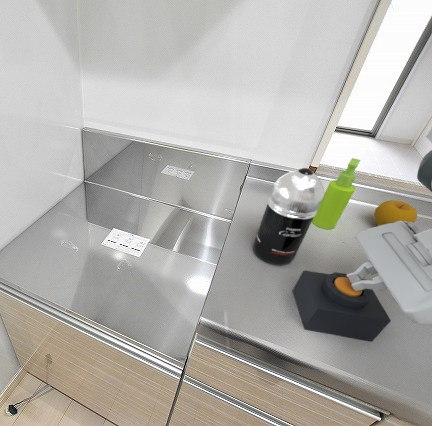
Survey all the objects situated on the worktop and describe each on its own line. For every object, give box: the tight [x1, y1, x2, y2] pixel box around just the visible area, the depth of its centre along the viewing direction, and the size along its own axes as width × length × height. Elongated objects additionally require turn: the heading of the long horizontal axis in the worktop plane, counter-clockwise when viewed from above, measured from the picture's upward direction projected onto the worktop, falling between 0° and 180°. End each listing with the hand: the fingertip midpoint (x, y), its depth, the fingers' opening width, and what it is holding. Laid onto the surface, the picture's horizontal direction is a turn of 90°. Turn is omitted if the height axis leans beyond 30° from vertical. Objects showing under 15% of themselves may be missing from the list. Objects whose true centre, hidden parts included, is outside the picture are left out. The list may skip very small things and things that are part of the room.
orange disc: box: [333, 277, 362, 297], centre depth 57 cm, size 4×4×2 cm
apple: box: [373, 199, 418, 227], centre depth 82 cm, size 8×8×9 cm
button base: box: [292, 270, 392, 343], centre depth 60 cm, size 12×10×9 cm
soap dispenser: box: [311, 157, 361, 230], centre depth 82 cm, size 6×7×20 cm
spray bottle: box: [252, 167, 325, 266], centre depth 70 cm, size 10×10×25 cm
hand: (350, 283), depth 56 cm, fingers closed, pressing on orange disc
